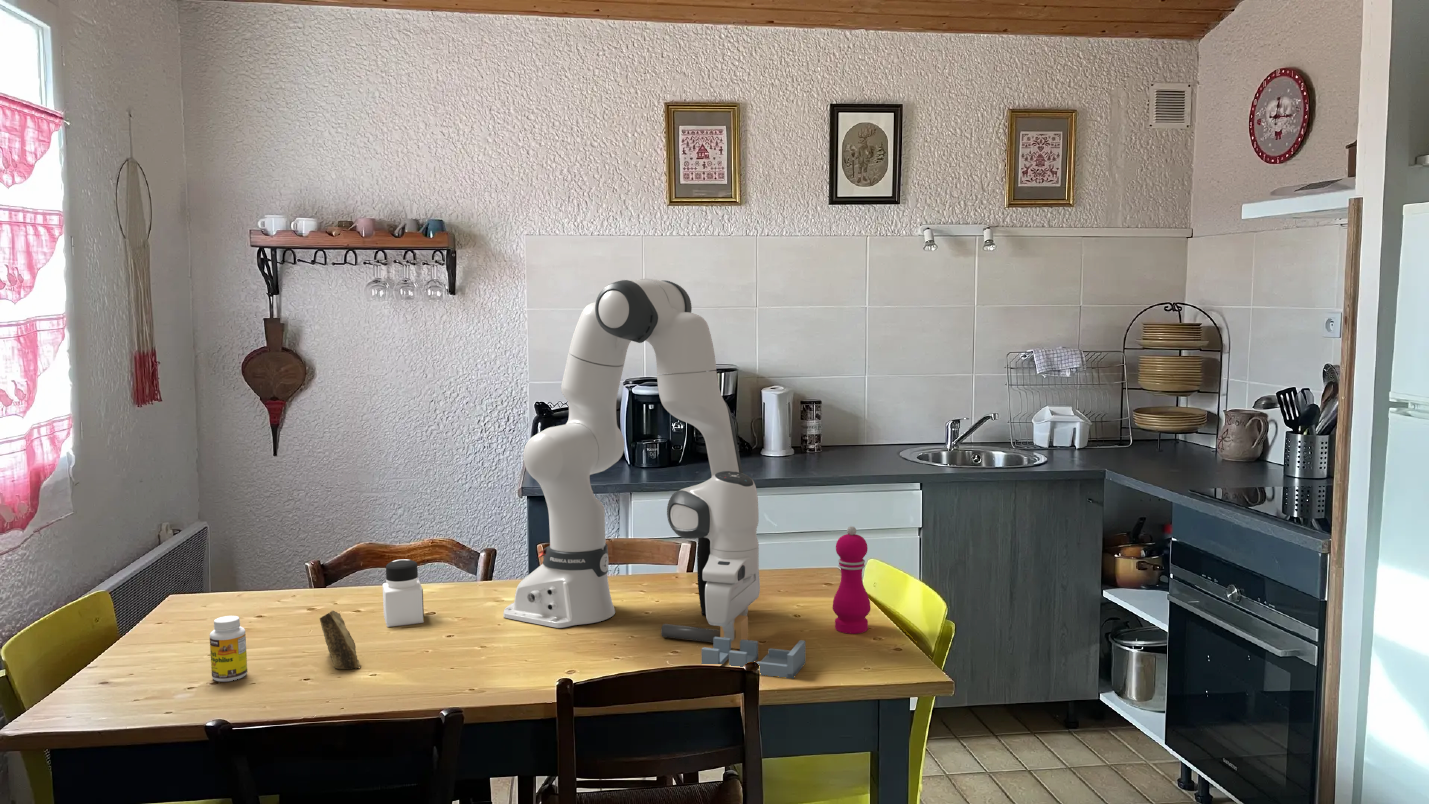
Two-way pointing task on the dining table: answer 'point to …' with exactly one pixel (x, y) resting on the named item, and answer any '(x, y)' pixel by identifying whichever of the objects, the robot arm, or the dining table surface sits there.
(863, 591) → the pepper mill
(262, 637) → the dining table surface
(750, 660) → the clip
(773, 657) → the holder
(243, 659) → the supplement bottle
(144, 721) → the dining table surface
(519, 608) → the robot arm
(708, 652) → the clip
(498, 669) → the dining table surface
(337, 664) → the rock
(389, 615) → the medicine bottle
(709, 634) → the grey and tan hammer
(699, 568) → the portable speaker
